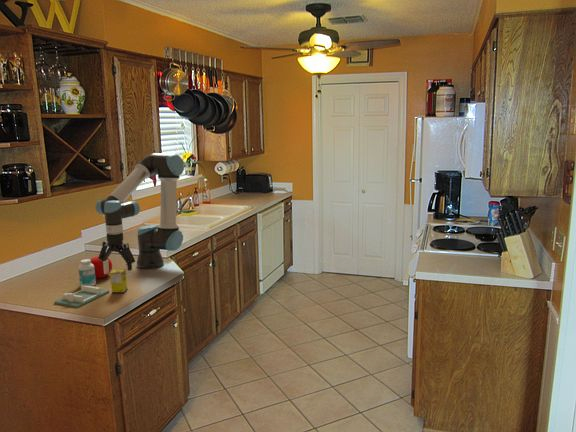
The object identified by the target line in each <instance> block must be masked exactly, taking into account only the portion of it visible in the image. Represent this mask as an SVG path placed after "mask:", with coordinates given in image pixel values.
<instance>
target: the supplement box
mask: <svg viewBox="0 0 576 432" xmlns="http://www.w3.org/2000/svg"><path fill="white" fill-rule="evenodd" d="M109 277H110V286H111V294H112V295H113V294H125V293H126V291H127V290H128V277H126V268H112V270H111V272H110V273H109ZM124 292H125V293H124Z"/></svg>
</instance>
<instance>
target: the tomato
mask: <svg viewBox="0 0 576 432" xmlns="http://www.w3.org/2000/svg"><path fill="white" fill-rule="evenodd" d="M98 257H99V256H94V257H92V258H89V259H90V260H91V263H92V264H93V265H94V270H95V279H103V278H105V277H107V276H108V275H110V272H111V271H112V270H113V263H112V261H111V259H110V258H109V257H108V258H107V260H108V263H109V273H107V274H104V267H103V264H102V260H101V259H99V258H98Z"/></svg>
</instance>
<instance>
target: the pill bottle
mask: <svg viewBox="0 0 576 432" xmlns="http://www.w3.org/2000/svg"><path fill="white" fill-rule="evenodd" d="M90 259H91V258H87V259H86V258H85V259H81V260H80V265H78V267H77V268H78V269H77V270H78V277H79V284H80V287H81V286H82V285H85V286H91V287H93V286H94V287H95V285H96V283H97V281H96V280H97V278H95V270H94V265H93V264H92V263H91V260H90Z"/></svg>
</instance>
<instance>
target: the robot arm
mask: <svg viewBox="0 0 576 432" xmlns="http://www.w3.org/2000/svg"><path fill="white" fill-rule="evenodd" d="M184 170H185V164H184V161H183V158H182V157H181V156H180V154H177V153H159V152H155V153H154V152H153V153H150V154H148V155H146V156H144V157H143V158H142V159H141V160H139V161H138V162H137V163H136V164H135V165H134V168H133V170H132V171H131V172H130V173H129V175H128V176H126V177H125V178H124V180H122V181H121V183H120V184H119V185H118V186H117V187H116V188H115V189H114V190H113V191H112V192H111V193H110V194H109V195H108V196H107V197H106V199H99V200H97V202H96V204H95V211H96V213H97V214H99V215H102V216H103V215H104V220H105V232H106V240H105V241H103V242H102V247H101V249H100V252H99V256H97V257H98V258H99V259H101V260H102V264H103V267H104V274H107V273H109V263H108V260H107V258H109V257H110V256H111V254H112V253H113V252H115V253H118V254H119V255H120V256H121V257H122V258H123V260H124V262H125V269H126V278H130V277H131V276H132V270H133V264H134V263H136V267H137V268H138V269H143V270H144V269H145V270H148V269H149V270H150V269H156V268H160V267H162V266H164V263H165V261H164V258H163V256H162V253H161V250H162V251H168V252H175V251H177V250H179V249H180V248H181V246H182V244H183V241H184V233H183V232H182V231H181V230H180V227H179V225H178V223H177V194H178V193H177V188H178V187H177V186H178V184H177V181H179V180H180V176H181V175H183V173H184ZM153 175H157V179H158V180H159V181H160V222H159V224H150V225H149V224H148V225H144V226H141V227H139V228H138V229H137V235H136V236H137V242H138V243H137V246H138V255H137V260H135V257H134V255H133V253H132V251H131V248H130V246H129V243H128V242H127V243H123V242H124V233H123V232H124V231H123V230H124V228H123V220H124V219H126V218H130V217H134V216H137V215H138V214H139V213H140V212H141V211H140V210H141V207H140V204H139V203H138V202H137V200H129V201H126V200H127V199H128V198H129V197H130V196H131V195H132V194H133V193H134V191H135V190H136V189H137V188H138V187H139V186H140V185H141V184H142V183H143V182H144V181H145V180H146V179H147V180H148V178H150V177H151V176H153ZM109 274H110V273H109Z"/></svg>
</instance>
